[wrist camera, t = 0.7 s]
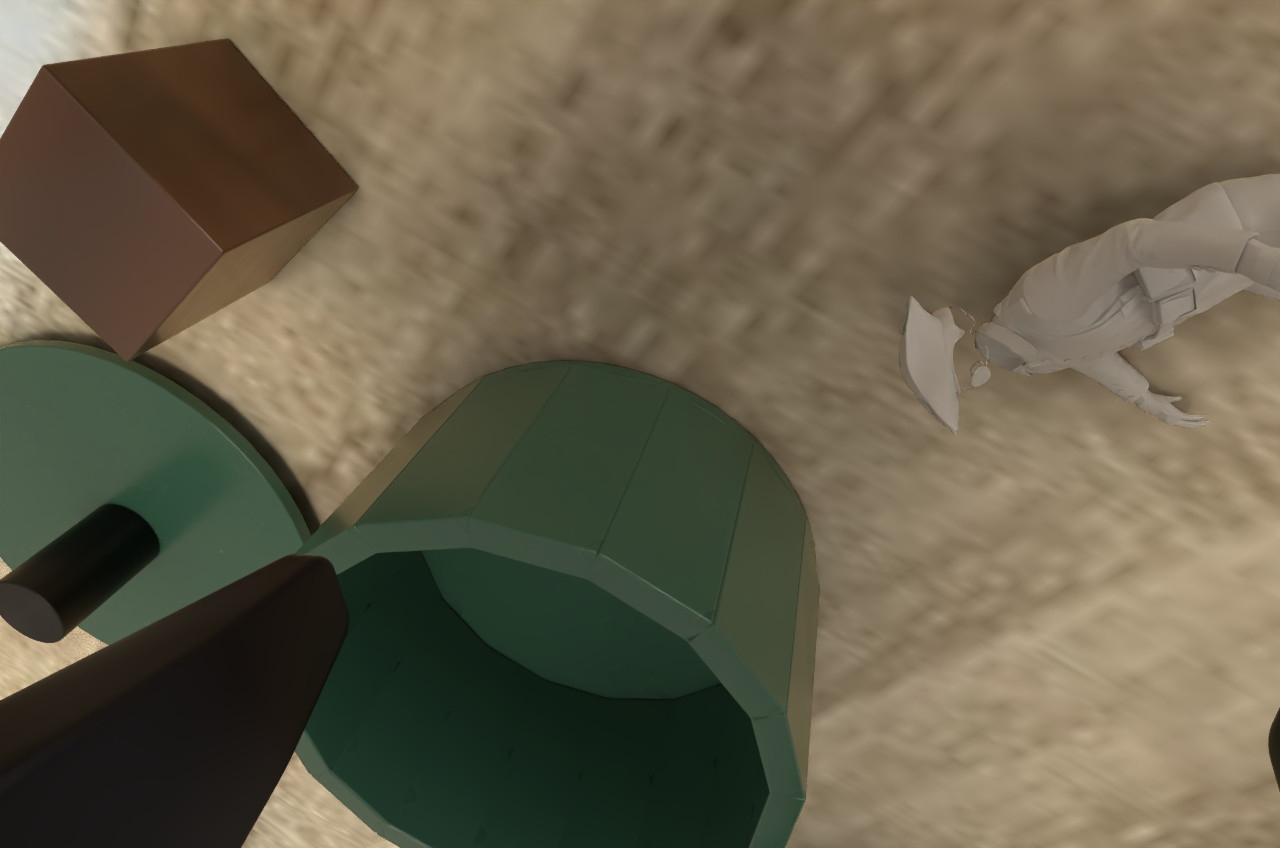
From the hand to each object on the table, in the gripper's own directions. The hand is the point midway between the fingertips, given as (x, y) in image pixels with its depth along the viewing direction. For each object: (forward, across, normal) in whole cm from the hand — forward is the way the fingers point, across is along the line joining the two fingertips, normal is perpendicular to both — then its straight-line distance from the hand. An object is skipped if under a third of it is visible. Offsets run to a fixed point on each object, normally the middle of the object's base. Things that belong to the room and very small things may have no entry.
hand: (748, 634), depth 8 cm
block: (+13, +15, -2) cm, 20 cm away
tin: (+13, +6, +10) cm, 18 cm away
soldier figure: (+14, -8, 0) cm, 16 cm away
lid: (+13, +24, +11) cm, 29 cm away
